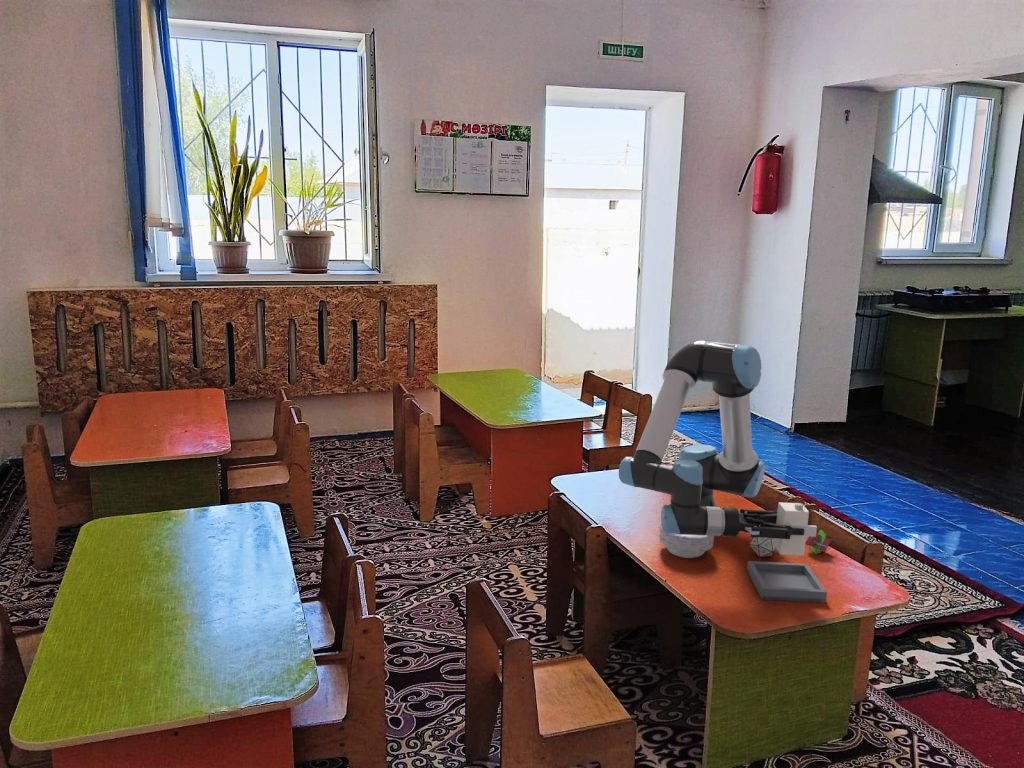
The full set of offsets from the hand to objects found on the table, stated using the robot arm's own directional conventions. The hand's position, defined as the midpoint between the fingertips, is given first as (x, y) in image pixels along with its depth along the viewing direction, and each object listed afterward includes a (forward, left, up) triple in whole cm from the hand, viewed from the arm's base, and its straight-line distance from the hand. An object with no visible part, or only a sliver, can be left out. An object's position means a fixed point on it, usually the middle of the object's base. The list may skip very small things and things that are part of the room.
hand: (811, 526), depth 199 cm
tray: (0, -5, -17) cm, 18 cm away
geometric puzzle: (-23, +11, -18) cm, 31 cm away
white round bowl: (-19, -28, -18) cm, 38 cm away
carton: (0, -5, -7) cm, 9 cm away
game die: (-18, -6, -18) cm, 26 cm away
